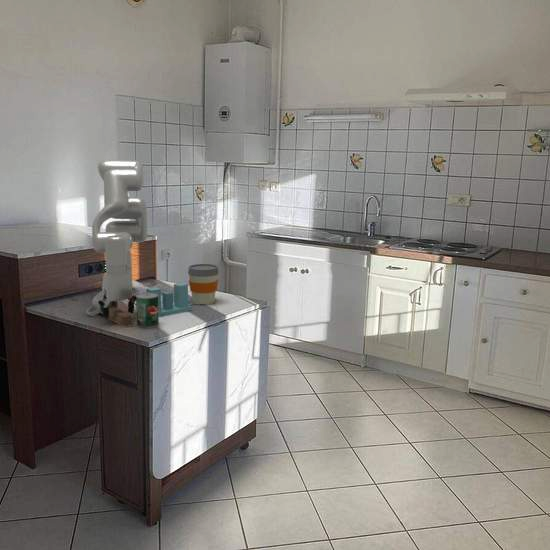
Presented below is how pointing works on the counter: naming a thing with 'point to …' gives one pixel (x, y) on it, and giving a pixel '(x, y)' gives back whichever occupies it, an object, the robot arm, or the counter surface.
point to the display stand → (167, 299)
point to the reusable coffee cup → (203, 283)
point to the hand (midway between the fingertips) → (118, 315)
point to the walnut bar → (119, 316)
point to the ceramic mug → (99, 307)
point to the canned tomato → (147, 309)
